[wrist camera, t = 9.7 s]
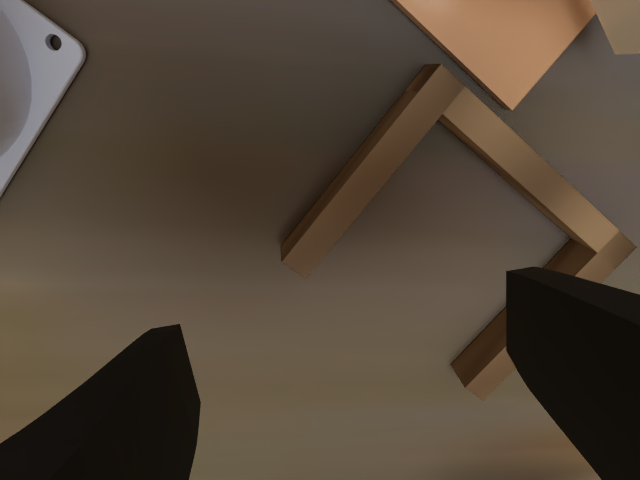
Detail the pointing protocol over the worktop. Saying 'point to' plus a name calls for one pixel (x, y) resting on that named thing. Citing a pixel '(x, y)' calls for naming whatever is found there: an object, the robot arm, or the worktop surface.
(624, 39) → the jug
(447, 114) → the holder
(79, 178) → the worktop surface
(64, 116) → the worktop surface
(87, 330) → the worktop surface
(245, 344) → the worktop surface
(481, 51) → the plate
